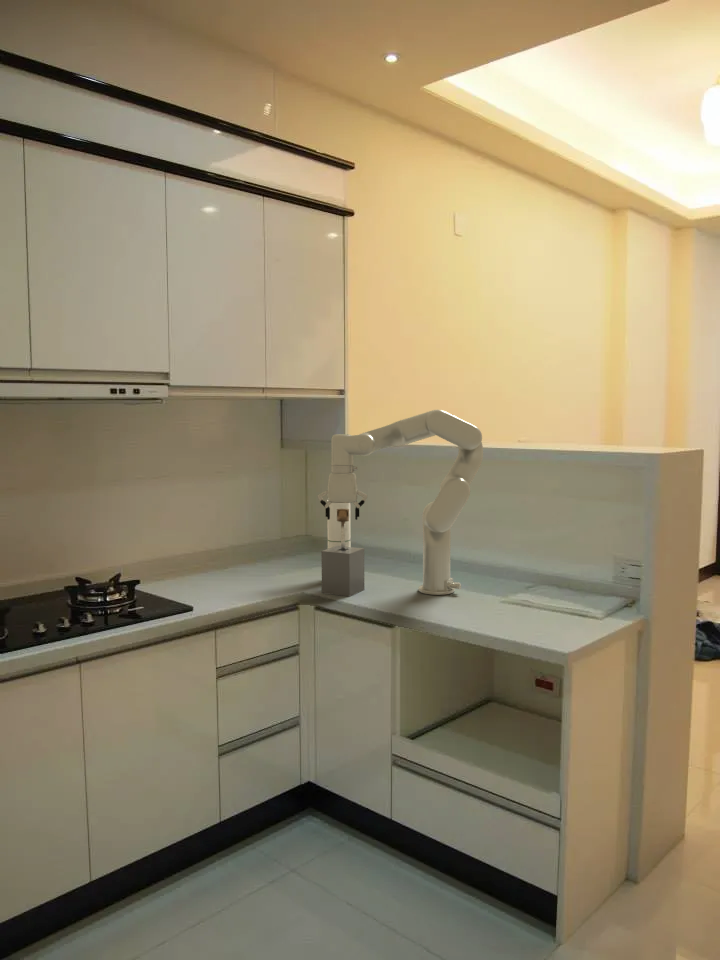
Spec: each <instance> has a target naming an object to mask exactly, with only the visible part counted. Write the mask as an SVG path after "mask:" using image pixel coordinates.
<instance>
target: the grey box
mask: <svg viewBox="0 0 720 960" xmlns="http://www.w3.org/2000/svg"><path fill="white" fill-rule="evenodd" d="M320 552H321V553H320V554H321V594H327V595H335V596H342V597H343V596H344V597H349V598H350V597H351V596H354V595H356V594H358V593H360V592H362V591H364V590H365V548H364V547H354V546H351V547H345V551H341V546H335V547H332V548H329V549H328V548H326V549H323V550H321V551H320Z"/></svg>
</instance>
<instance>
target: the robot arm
mask: <svg viewBox="0 0 720 960" xmlns="http://www.w3.org/2000/svg"><path fill="white" fill-rule="evenodd" d="M435 436H437V437H439V438H441V439H443V440H445V441H447V442H449V443H451V444H453V445H456V446H457V447H458V454H457V456H456V458H455V460H454V462H453V463H452V466H451V467H450V468H449V470H448V471H447V474H446V475H445V476H444V478H443V479H442V480H441V482H440V485H439V492H438V494H437V496H436V497H435V498H434V500H433V501H431V502H428V503H427V504H426V505H425V507H424V508H423V512H422V585H419V586H418V591H419V593H421V594H425V595H433V596H434V595H435V596H442V595H444V596H445V595H449V594H450V595H451V594H452V593H455V590H461V589H462V583H461V582H458V581H456V582H455V581H454V577H451V541H452V540H451V539H452V537H451V535H452V534H451V528H452V527H453V525H454V523H456V520H457V519H458V518H459V515H460V514H461V512H462V511H463V509H464V507H465V506H466V503H468V500H469V499H470V494H471V486H470V485H471V483H473V480H474V479H475V476H476V474H477V473H478V472H479V469H480V467H481V464H482V462H483V458H484V447H483V442H482V441H483V433H482V430H481V429H480V428H478V426H476V425H473V424H472V423H470V422H467V421H465V420H463V419H461V418H459V417H457V416H456V415H452V414H451V413H450V412H447V411H446V410H443V409H433V410H429V411H426V412H423V413H420V414H417V415H413V416H411V417H407V418H404V419H400V420H398V421H395V422H393V423H391V424H387V425H385V426H381V427H377V428H374V429H371V430H368V431H365V432H362V433H359V434H353V435H352V434H348V433H347V434H345V433H343V434H342V433H340V434H339V433H336V434H333V435H332V437H331V473H329V476H328V482H327V483H328V484H327V490H325V491H323V492H321V493H320V494H317V498H318V501H319V502H320V504H321V505H322V506H323V507H324V508H325V518H327V519H326V520H329V519H330V508H329V505H330V504H331V503H350V504H351V503H352V504H354V506H355V508H354V515H355V516H354V517H355V519H354V520H356V521H357V520H358V518H360V508H361V507H362V506H363V505H364V504H365V502H366V501H367V498H368V495H367V494H366V493H364V492H363V491H360V490H359V489H358V482H357V476H356V475H357V474H356V473H354V472H355V471H357V472H358V466H355V465H354V455H355V456H361V457H362V456H363V457H366V456H370V455H372V453H374V452H376V451H380V450H383V449H387V448H391V447H395V446H406V445H408V444H412V443H415V442H418V441H422V440H424V439H428V438H431V437H435ZM325 496H327V500H328V502H326V501H325V500H324V498H323V497H325ZM358 496H360V497H361V498H362V499H361V500H360V501H357V500H358Z"/></svg>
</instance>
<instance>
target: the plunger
mask: <svg viewBox="0 0 720 960" xmlns="http://www.w3.org/2000/svg"><path fill="white" fill-rule="evenodd" d="M337 521H339V522H341V551H345V522H346V521H349V509H337Z"/></svg>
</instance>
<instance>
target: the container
mask: <svg viewBox="0 0 720 960" xmlns="http://www.w3.org/2000/svg"><path fill="white" fill-rule="evenodd" d="M326 501H327V502H328V499H327V500H326ZM327 502H326V503H327ZM329 508H330V519H329V520H327V519H326V520H327V521H326V522H327V523H326V524H327V529H326V530H327V549H329V548H332V547H335V546H341V522H339V521H337V509H349V521H346V522H345V547H352V545H351V503H331V504H330V505H329Z"/></svg>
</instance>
